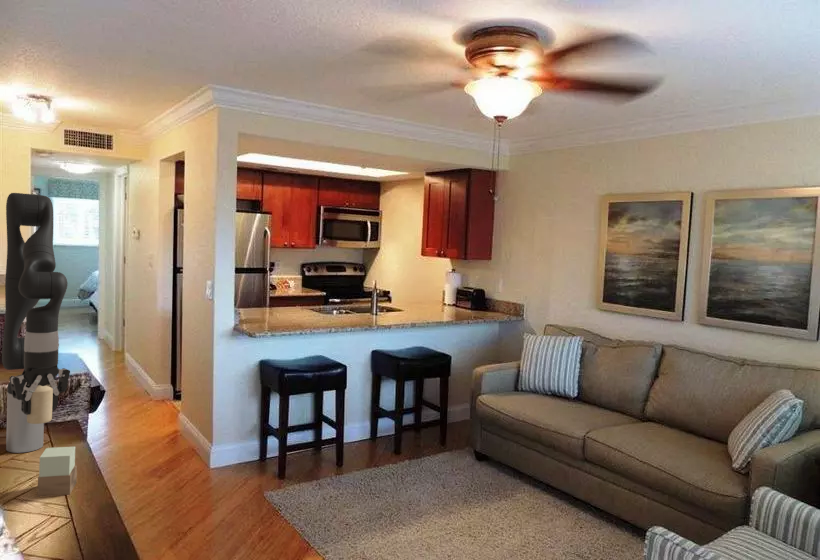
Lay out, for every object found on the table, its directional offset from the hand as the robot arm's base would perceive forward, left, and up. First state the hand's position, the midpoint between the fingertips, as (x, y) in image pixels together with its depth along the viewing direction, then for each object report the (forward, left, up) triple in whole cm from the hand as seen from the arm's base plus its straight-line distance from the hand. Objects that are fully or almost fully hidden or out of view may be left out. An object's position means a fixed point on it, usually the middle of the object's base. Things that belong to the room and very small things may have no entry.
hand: (39, 411), depth 150 cm
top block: (+8, +6, -13) cm, 17 cm away
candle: (0, 0, -3) cm, 3 cm away
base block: (+8, +7, -18) cm, 21 cm away
